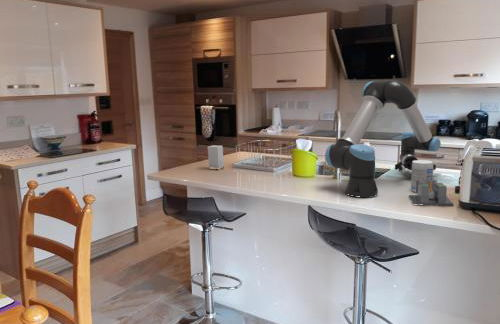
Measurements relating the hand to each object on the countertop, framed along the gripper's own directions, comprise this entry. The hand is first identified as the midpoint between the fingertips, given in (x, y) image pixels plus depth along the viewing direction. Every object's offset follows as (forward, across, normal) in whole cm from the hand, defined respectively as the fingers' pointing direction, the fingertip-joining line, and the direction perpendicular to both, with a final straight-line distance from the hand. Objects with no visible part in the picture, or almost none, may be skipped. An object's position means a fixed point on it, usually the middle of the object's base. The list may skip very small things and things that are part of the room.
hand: (418, 170), depth 204 cm
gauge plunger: (+24, 0, -7) cm, 25 cm away
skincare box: (-38, +118, -8) cm, 124 cm away
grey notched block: (+28, 0, -8) cm, 29 cm away
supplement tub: (+10, 0, -8) cm, 13 cm away
